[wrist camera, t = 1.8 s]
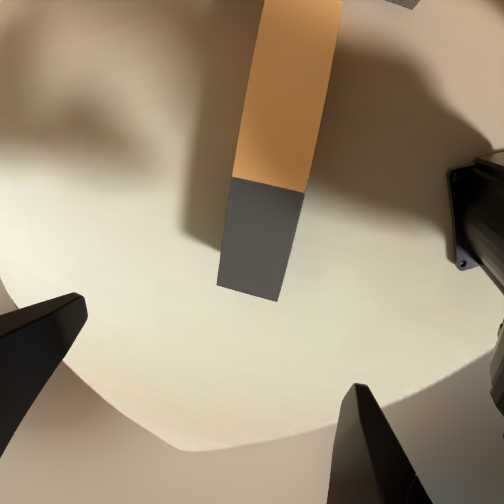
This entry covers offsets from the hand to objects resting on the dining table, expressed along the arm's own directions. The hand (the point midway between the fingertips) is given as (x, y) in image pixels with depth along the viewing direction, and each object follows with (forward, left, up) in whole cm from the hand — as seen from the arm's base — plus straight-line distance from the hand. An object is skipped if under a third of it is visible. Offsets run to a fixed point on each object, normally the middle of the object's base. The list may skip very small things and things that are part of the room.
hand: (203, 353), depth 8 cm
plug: (+5, -3, -11) cm, 12 cm away
